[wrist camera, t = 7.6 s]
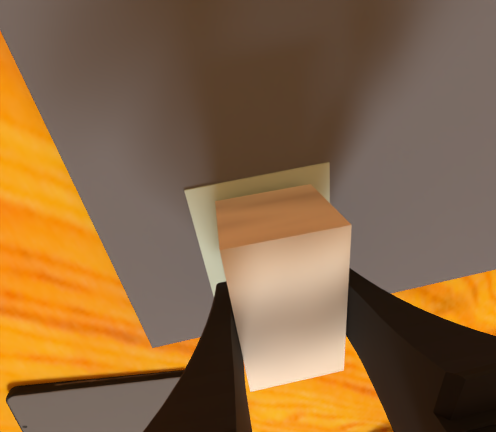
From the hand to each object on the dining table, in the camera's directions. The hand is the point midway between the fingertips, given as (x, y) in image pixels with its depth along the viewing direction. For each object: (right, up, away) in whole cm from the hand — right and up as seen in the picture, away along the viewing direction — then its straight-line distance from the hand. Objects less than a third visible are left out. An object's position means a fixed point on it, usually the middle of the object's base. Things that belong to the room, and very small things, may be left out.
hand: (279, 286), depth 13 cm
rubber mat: (+4, +6, +1) cm, 7 cm away
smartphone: (-10, -10, +7) cm, 16 cm away
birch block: (0, +1, +1) cm, 2 cm away
